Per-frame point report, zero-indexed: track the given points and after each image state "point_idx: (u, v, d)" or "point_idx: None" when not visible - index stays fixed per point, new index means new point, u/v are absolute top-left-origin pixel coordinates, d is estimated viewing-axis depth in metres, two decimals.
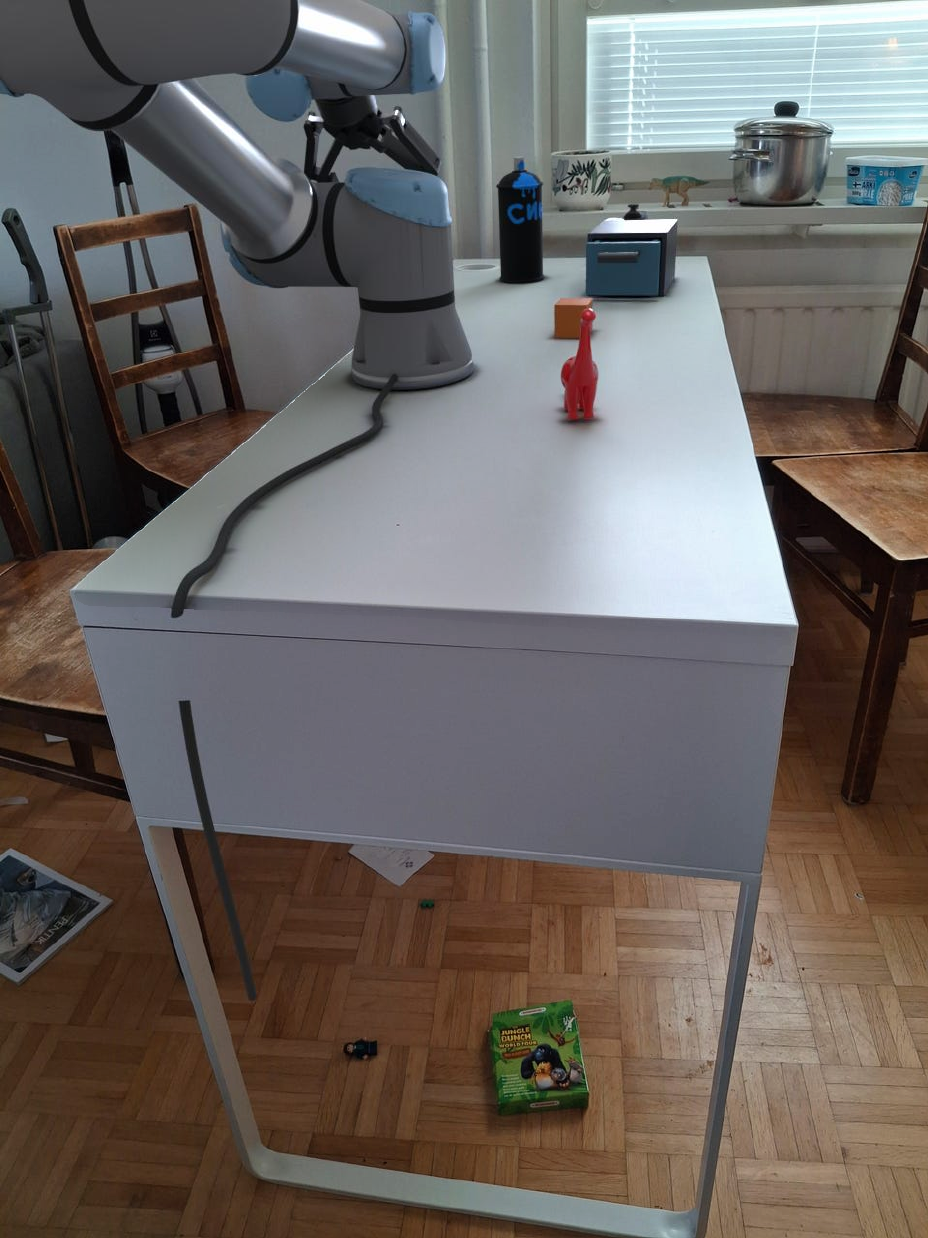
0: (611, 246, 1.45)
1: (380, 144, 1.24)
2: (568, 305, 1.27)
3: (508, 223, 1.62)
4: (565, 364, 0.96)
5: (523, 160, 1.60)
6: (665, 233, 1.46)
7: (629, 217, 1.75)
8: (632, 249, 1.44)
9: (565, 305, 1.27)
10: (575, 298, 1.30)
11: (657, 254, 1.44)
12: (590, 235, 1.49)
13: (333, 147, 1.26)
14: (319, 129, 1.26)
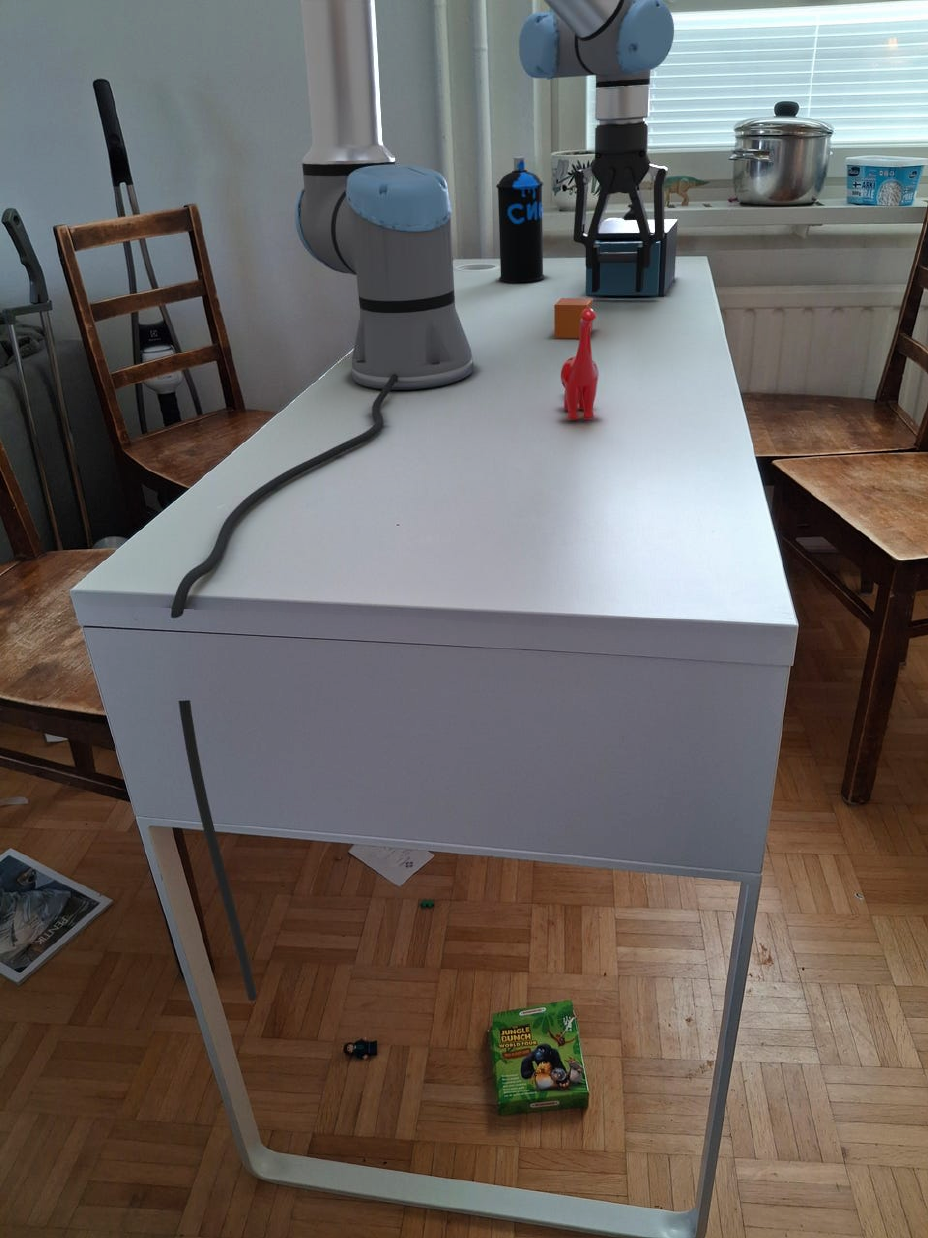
0: (611, 246, 1.45)
1: (636, 190, 1.35)
2: (568, 305, 1.27)
3: (508, 223, 1.62)
4: (565, 364, 0.96)
5: (523, 160, 1.60)
6: (665, 233, 1.46)
7: (629, 217, 1.75)
8: (632, 249, 1.44)
9: (565, 305, 1.27)
10: (575, 298, 1.30)
11: (657, 254, 1.44)
12: None
13: (601, 191, 1.37)
14: (588, 177, 1.37)
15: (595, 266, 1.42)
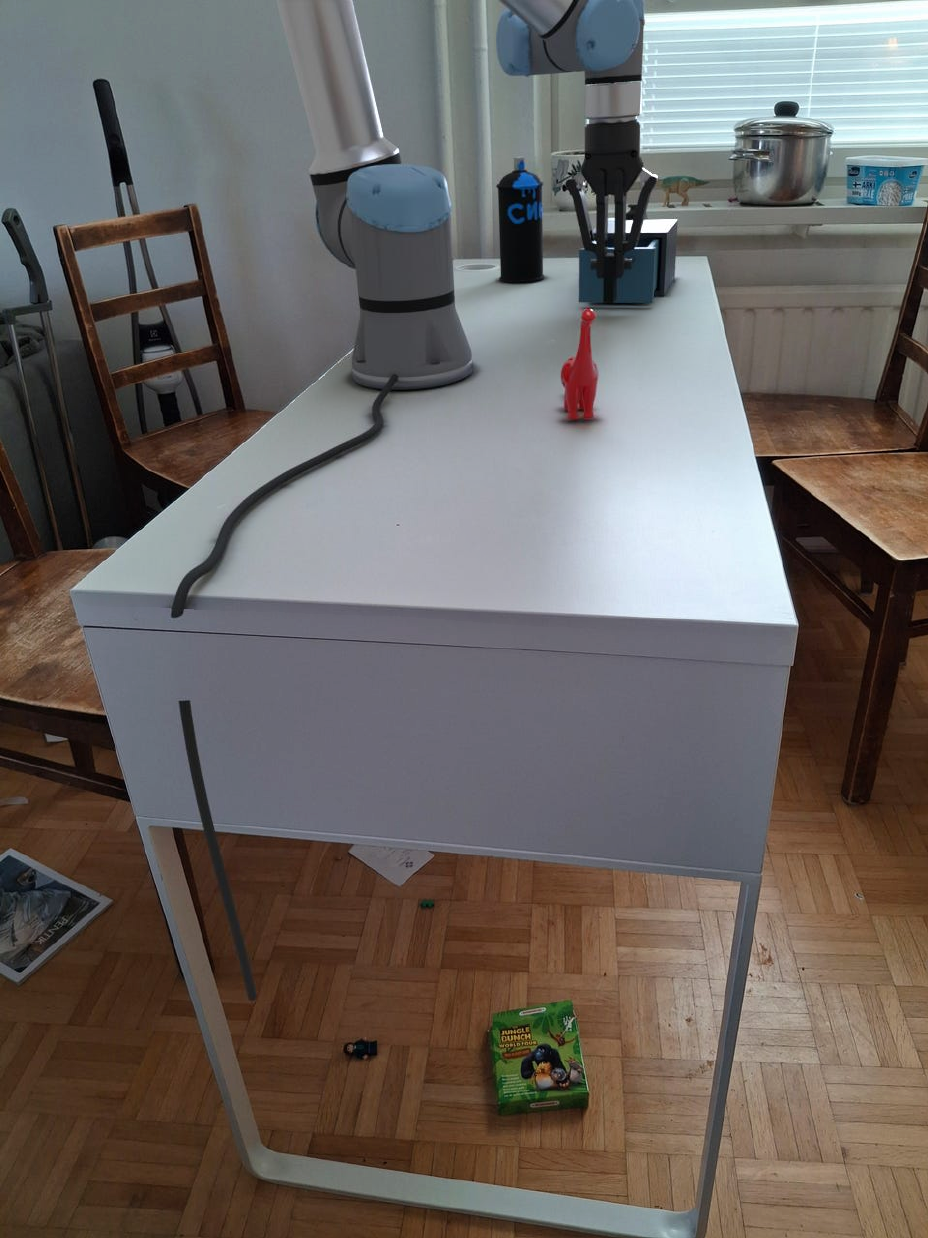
0: None
1: (622, 195, 1.28)
2: None
3: (508, 223, 1.62)
4: (565, 364, 0.96)
5: (523, 160, 1.60)
6: (665, 233, 1.46)
7: (629, 217, 1.75)
8: (626, 255, 1.40)
9: None
10: None
11: (652, 260, 1.39)
12: None
13: (597, 195, 1.29)
14: (581, 182, 1.30)
15: (607, 276, 1.35)
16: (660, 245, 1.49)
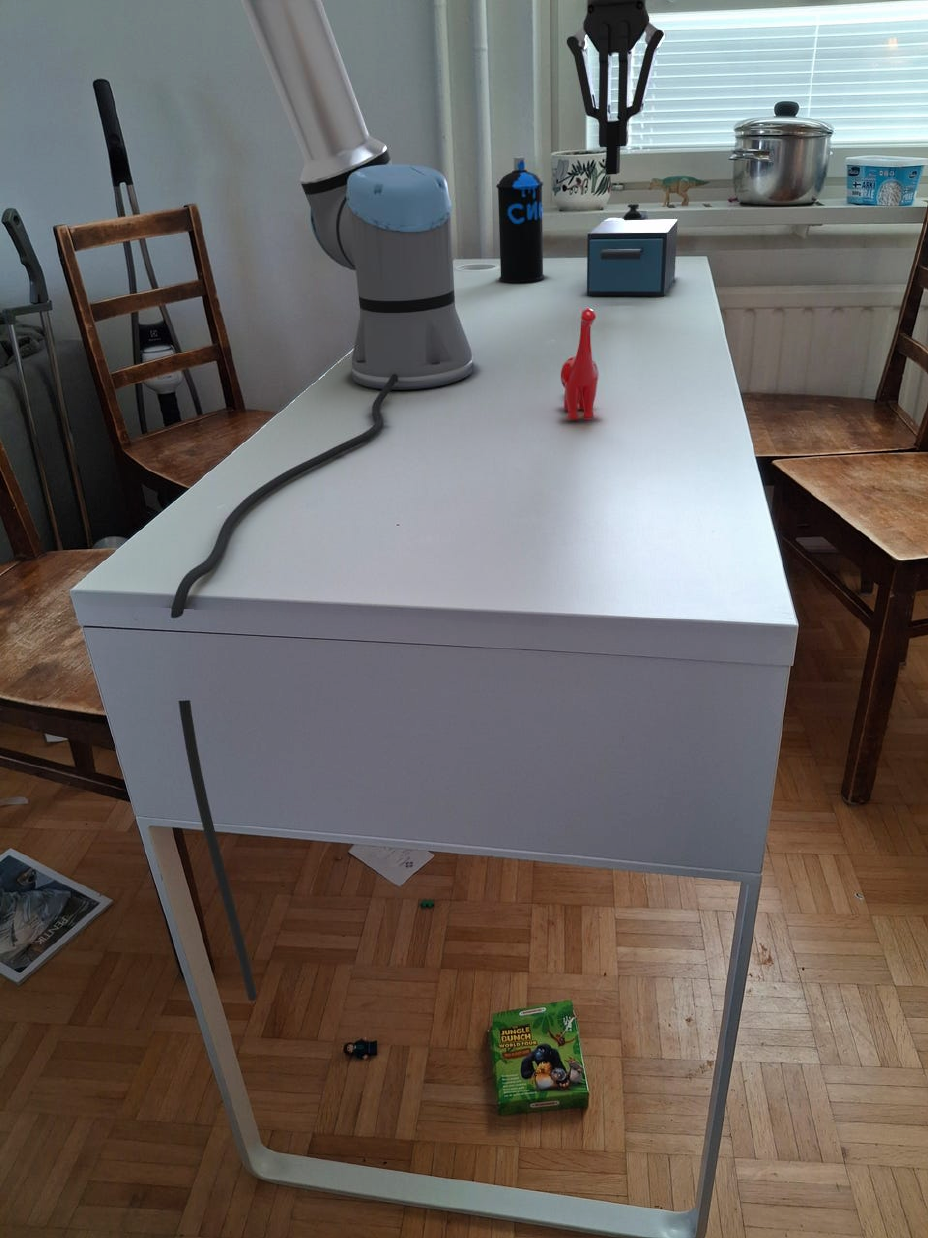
0: (614, 243, 1.47)
1: (627, 52, 1.21)
2: None
3: (508, 223, 1.62)
4: (565, 364, 0.96)
5: (523, 160, 1.60)
6: (665, 233, 1.46)
7: (629, 217, 1.75)
8: (635, 246, 1.47)
9: None
10: None
11: (659, 251, 1.46)
12: (590, 235, 1.49)
13: (600, 53, 1.22)
14: (583, 40, 1.23)
15: (610, 143, 1.27)
16: None
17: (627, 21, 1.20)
